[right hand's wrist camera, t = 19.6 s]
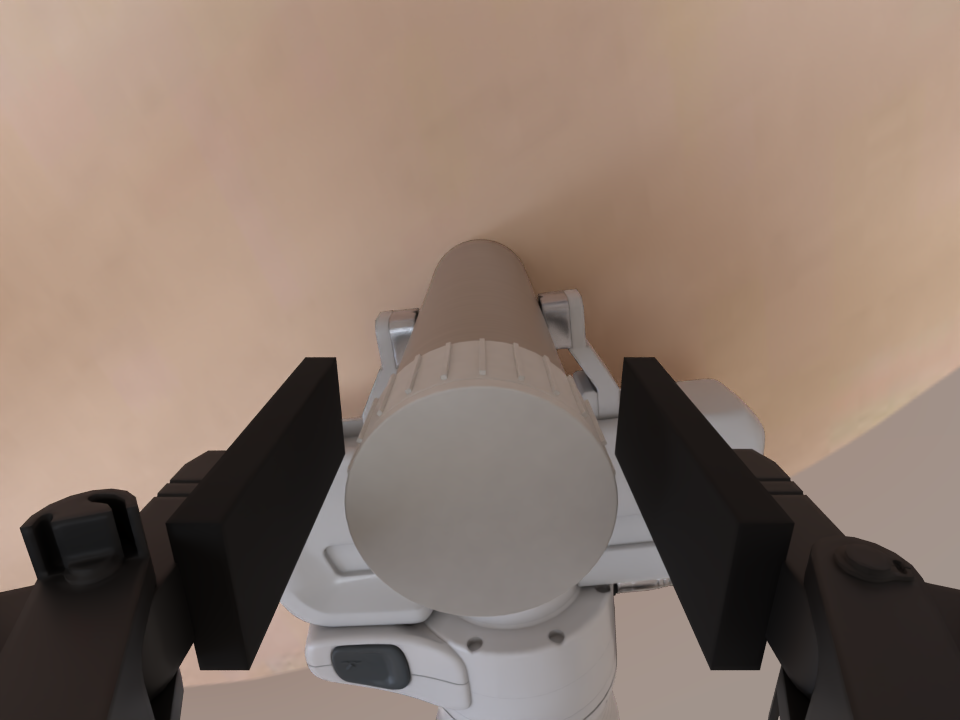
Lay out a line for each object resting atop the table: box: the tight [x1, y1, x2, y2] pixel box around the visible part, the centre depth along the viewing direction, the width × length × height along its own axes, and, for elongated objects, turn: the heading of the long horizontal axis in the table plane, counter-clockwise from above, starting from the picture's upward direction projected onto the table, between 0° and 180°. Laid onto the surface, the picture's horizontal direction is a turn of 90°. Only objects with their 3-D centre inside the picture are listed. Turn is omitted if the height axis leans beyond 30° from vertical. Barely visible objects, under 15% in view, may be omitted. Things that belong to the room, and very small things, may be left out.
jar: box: [396, 240, 566, 375], centre depth 19 cm, size 5×5×17 cm
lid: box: [344, 338, 618, 617], centre depth 11 cm, size 5×5×2 cm
